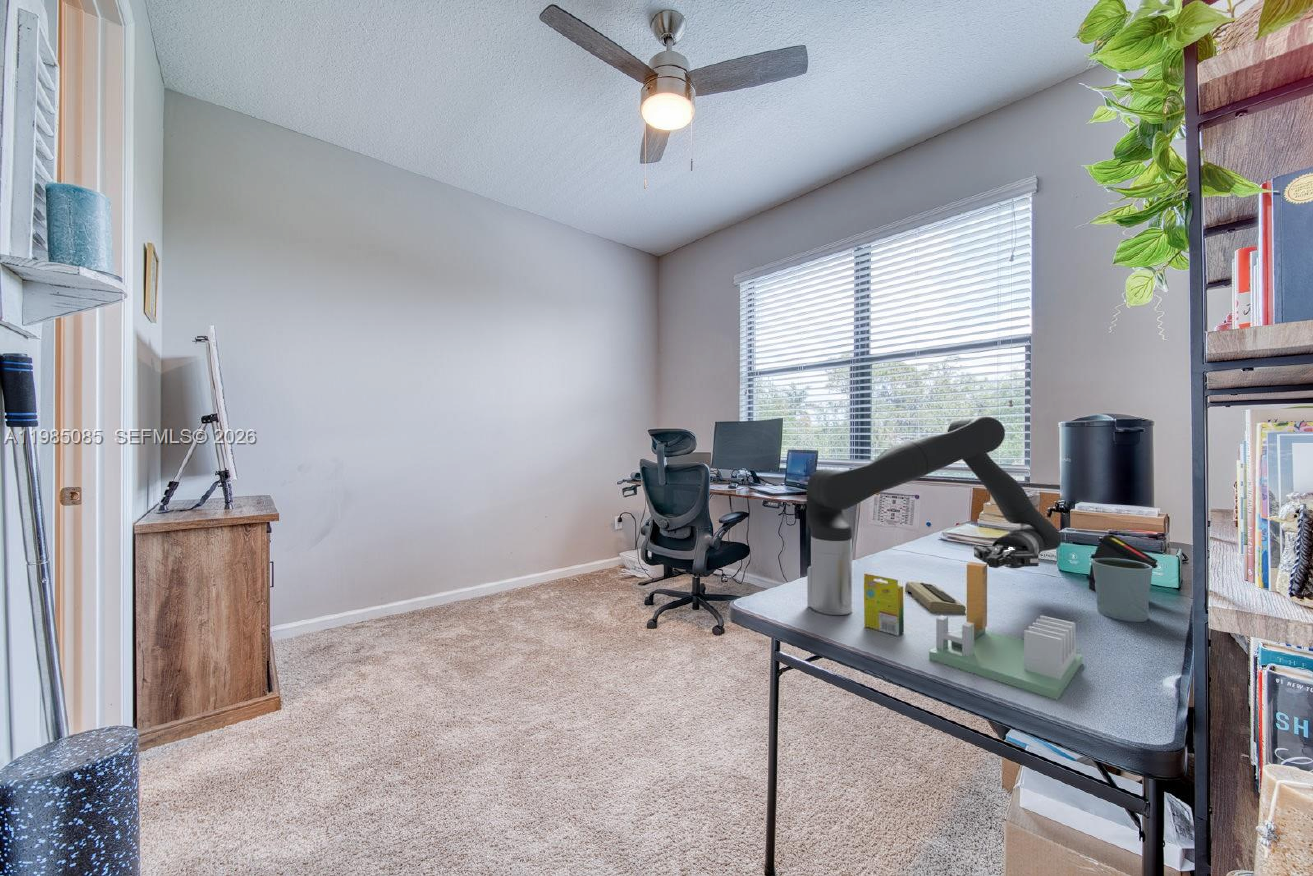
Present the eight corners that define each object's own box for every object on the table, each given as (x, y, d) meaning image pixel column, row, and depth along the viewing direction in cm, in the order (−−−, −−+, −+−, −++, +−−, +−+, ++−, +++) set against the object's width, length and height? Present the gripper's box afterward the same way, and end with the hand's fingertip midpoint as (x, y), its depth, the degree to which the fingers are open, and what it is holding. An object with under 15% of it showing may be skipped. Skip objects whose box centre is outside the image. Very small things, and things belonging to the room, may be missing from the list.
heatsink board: (929, 659, 94) (929, 616, 93) (965, 632, 106) (965, 594, 106) (1057, 700, 79) (1057, 649, 79) (1081, 663, 92) (1082, 619, 91)
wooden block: (949, 645, 96) (949, 572, 96) (971, 628, 104) (971, 561, 104) (966, 650, 94) (966, 575, 94) (987, 632, 102) (987, 564, 101)
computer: (966, 615, 117) (966, 600, 117) (929, 614, 118) (929, 599, 118) (937, 593, 132) (936, 581, 132) (904, 592, 133) (904, 580, 133)
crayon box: (904, 632, 106) (904, 577, 106) (898, 636, 104) (898, 580, 104) (869, 623, 111) (869, 570, 111) (863, 626, 109) (863, 573, 109)
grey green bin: (1165, 623, 110) (1165, 568, 110) (1119, 623, 110) (1120, 569, 110) (1121, 607, 120) (1122, 557, 120) (1080, 607, 120) (1080, 557, 120)
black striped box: (1083, 578, 138) (1111, 533, 132) (1135, 613, 127) (1169, 566, 121) (1073, 579, 137) (1101, 534, 131) (1126, 615, 126) (1159, 567, 120)
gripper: (983, 529, 124) (958, 540, 113) (1050, 537, 114) (1029, 550, 103) (984, 559, 124) (958, 574, 113) (1050, 570, 114) (1030, 587, 103)
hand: (992, 562), depth 108 cm, fingers closed
